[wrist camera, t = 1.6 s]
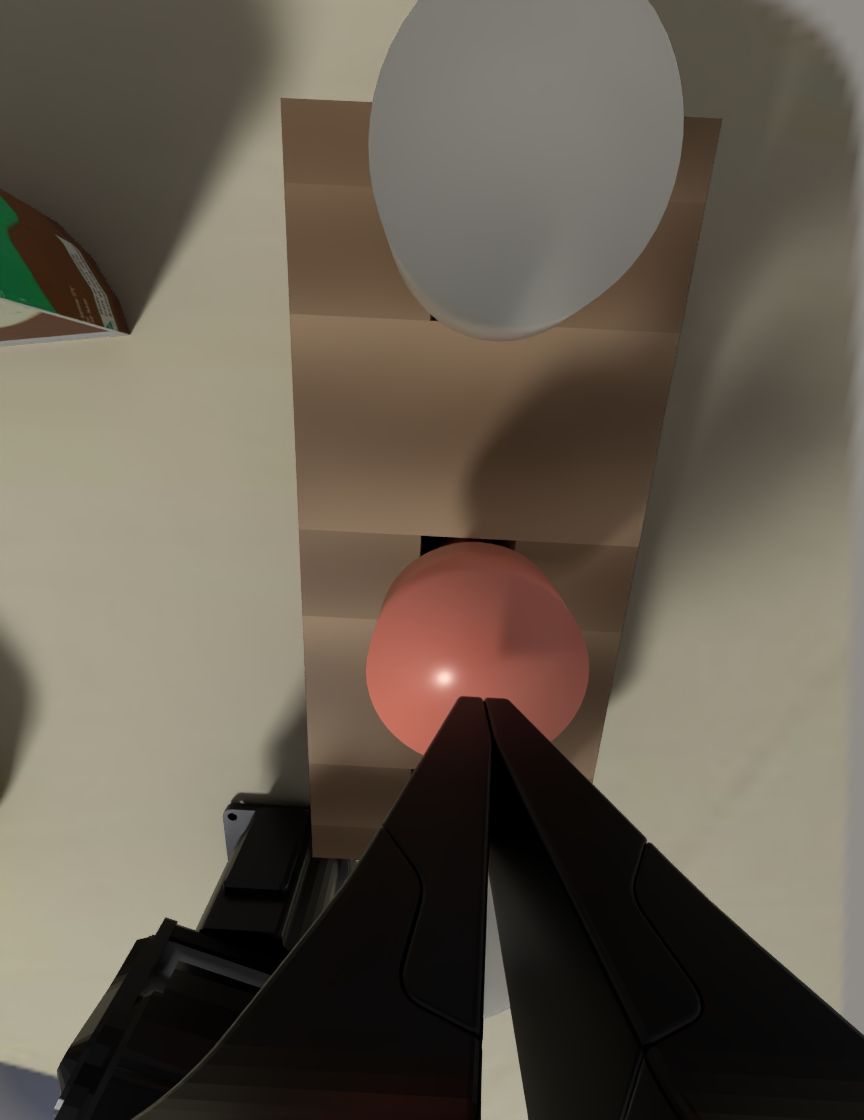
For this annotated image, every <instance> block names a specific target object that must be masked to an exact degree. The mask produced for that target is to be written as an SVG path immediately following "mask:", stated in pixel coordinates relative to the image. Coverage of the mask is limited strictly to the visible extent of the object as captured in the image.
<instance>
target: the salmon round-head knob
mask: <svg viewBox="0 0 864 1120" xmlns="http://www.w3.org/2000/svg"><path fill="white" fill-rule="evenodd" d="M588 678H589V657H588V652H587V647H586V643H585V640H584V638H583V635H582V632H581V630H580V629H579V627H578V625H577V623H576V621H575V620H574V618H573V616H572V615H571V613H570V611H569V610H568V608H567V607H566V605H565V603H564V602H563V600H562V598H561V597H560V595H559V594H558V592H557V590H556V589H555V587H554V585H553V584H552V582H551V581H550V580H549V578H548V577H547V576H546V574H545V573H544V572H543V571H542V570H541V569H540V568H539V567H538V566H537V565H536V564H535V563H533V562H532V561H531V560H529V559H528V558H527V557H525V556H523V555H521V554H519V553H518V552H516V551H514V550H511V549H508V548H506V547H503V546H499V545H495V544H491V543H483V542H482V541H481V540H480V539H477V538H458V537H447V538H446V539H444V540H443V541H442V543H441V544H440V546H439V548H437V549H435V550H432V551H430V552H428V553H426V554H424V555H422V556H421V557H419V558H417V559H416V560H415V561H413V562H412V563H411V564H409V565H408V566H407V567H406V568H405V569H404V570H403V571H402V572H401V573H400V574H399V575H398V577H397V578H396V579H395V580H394V582H393V583H392V585H391V587H390V588H389V590H388V592H387V594H386V596H385V599H384V601H383V604H382V607H381V610H380V614H379V617H378V620H377V624H376V627H375V630H374V633H373V637H372V640H371V643H370V647H369V651H368V655H367V663H366V679H367V686H368V691H369V695H370V698H371V701H372V703H373V706H374V708H375V710H376V712H377V714H378V715H379V717H380V719H381V720H382V722H383V723H384V724H385V726H386V727H387V728H388V729H389V730H390V731H391V732H392V733H393V734H394V736H395V737H396V738H398V739H399V740H400V741H401V742H403V743H404V744H405V745H406V746H408V747H410V748H411V749H413V750H414V751H416V752H418V753H420V754H422V755H424V753H425V752H426V750H427V748H428V747H429V745H430V743H431V742H432V740H433V738H434V737H435V735H436V734H437V732H438V730H439V729H440V727H441V725H442V724H443V722H444V720H445V719H446V717H447V715H448V714H449V712H450V710H451V709H452V707H453V705H454V704H455V702H456V700H457V699H458V698H459V697H460V696H471V697H481V698H482V699H483V701H484V699H485V698H488V697H490V698H506V699H508V700H509V701H511V702H512V703H513V704H514V705H515V706H516V707H517V708H518V709H519V710H520V711H521V712H522V713H523V714H524V715H525V716H526V717H527V718H528V720H529V721H530V722H531V723H532V724H533V725H534V726H535V727H536V728H537V729H538V730H539V731H540V732H541V733H542V734H543V735H544V736H545V737H546V738H547V739H548V740H549V741H550V742H551V741H552V740H554V739H555V738H556V737H557V736H558V735H559V734H560V733H561V732H562V731H563V730H564V729H565V728H566V727H567V726H568V724H569V723H570V722H571V721H572V719H573V718H574V716H575V715H576V713H577V711H578V709H579V708H580V706H581V703H582V701H583V698H584V696H585V693H586V689H587V685H588Z"/></svg>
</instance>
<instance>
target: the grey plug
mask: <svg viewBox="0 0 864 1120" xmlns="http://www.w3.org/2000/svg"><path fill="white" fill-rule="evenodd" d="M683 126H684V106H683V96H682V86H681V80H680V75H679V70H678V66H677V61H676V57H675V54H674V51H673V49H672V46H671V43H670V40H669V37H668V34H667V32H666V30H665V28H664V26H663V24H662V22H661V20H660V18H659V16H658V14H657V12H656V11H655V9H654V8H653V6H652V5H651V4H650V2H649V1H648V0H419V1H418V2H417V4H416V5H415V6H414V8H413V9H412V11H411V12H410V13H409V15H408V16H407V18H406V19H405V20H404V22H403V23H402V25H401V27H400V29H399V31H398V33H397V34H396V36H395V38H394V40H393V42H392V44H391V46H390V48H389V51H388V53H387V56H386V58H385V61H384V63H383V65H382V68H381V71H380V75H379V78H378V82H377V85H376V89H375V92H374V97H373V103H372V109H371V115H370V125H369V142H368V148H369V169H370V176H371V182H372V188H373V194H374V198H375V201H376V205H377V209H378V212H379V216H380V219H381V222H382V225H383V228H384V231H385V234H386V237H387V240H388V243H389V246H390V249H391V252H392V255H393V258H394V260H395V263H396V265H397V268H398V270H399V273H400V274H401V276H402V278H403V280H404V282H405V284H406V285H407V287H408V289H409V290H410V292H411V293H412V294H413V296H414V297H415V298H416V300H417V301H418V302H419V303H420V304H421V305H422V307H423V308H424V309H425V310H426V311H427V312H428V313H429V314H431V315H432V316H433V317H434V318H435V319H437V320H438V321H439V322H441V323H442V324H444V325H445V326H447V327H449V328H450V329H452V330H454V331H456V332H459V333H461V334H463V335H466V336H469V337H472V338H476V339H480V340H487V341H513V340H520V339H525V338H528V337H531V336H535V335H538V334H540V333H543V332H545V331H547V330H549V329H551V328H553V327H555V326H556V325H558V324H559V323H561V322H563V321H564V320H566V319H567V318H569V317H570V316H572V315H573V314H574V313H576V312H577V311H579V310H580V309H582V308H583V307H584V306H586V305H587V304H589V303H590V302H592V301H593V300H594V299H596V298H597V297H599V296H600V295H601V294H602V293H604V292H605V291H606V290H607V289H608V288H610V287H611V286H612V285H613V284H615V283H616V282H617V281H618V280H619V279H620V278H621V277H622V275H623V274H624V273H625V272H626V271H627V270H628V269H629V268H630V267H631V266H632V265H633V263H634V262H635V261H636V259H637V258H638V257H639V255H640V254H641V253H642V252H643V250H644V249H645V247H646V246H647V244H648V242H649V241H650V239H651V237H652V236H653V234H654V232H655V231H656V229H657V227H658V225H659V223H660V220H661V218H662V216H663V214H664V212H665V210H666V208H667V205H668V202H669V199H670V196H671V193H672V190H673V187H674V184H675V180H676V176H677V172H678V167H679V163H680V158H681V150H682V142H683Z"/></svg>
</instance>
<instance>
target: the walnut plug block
mask: <svg viewBox="0 0 864 1120" xmlns="http://www.w3.org/2000/svg"><path fill="white" fill-rule="evenodd" d="M372 103H373V102H354V101H333V100H312V99H290V98H281V117H282V141H283V165H284V189H285V212H286V236H287V260H288V283H289V307H290V331H291V354H292V378H293V402H294V425H295V449H296V473H297V496H298V520H299V544H300V568H301V591H302V615H303V639H304V662H305V686H306V710H307V733H308V757H309V781H310V804H311V828H312V852H313V857H320V858H337V859H355V860H359V859H360V858H361V856H362V855H363V853H364V852H365V850H366V849H367V847H368V845H369V844H370V842H371V840H372V839H373V837H374V835H375V834H376V832H377V830H378V829H379V828H381V825H382V823H383V821H384V819H385V818H386V816H387V814H388V813H389V811H390V809H391V808H392V806H393V804H394V803H395V801H396V800H397V798H398V796H399V795H400V793H401V791H402V790H403V788H404V786H405V785H406V783H407V781H408V780H409V778H410V776H411V775H412V773H413V771H414V770H415V768H416V767H417V765H418V763H419V762H420V760H421V758H422V757H423V755H422V754H420V753H418V752H416V751H414V750H413V749H411V748H410V747H408V746H406V745H405V744H404V743H403V742H401V741H400V740H399V739H398V738H396V737H395V736H394V734H393V733H392V732H391V731H390V730H389V729H388V728H387V727H386V726H385V724H384V723H383V722H382V720H381V719H380V717H379V715H378V714H377V712H376V710H375V708H374V706H373V703H372V701H371V698H370V695H369V691H368V686H367V679H366V663H367V655H368V651H369V647H370V643H371V640H372V637H373V633H374V630H375V627H376V624H377V620H378V617H379V614H380V610H381V607H382V604H383V601H384V599H385V596H386V594H387V592H388V590H389V588H390V587H391V585H392V583H393V582H394V580H395V579H396V578H397V577H398V575H399V574H400V573H401V572H402V571H403V570H404V569H405V568H406V567H407V566H408V565H409V564H411V563H412V562H413V561H415V560H416V559H417V558H419V557H421V556H422V555H424V554H425V537H426V536H439V537H458V538H477V539H491V544H495V545H499V546H503V547H506V548H508V549H511V550H514V551H516V552H518V553H519V554H521V555H523V556H525V557H527V558H528V559H529V560H531V561H532V562H533V563H535V564H536V565H537V566H538V567H539V568H540V569H541V570H542V571H543V572H544V573H545V574H546V576H547V577H548V578H549V580H550V581H551V582H552V584H553V585H554V587H555V589H556V590H557V592H558V594H559V595H560V597H561V598H562V600H563V602H564V603H565V605H566V607H567V608H568V610H569V611H570V613H571V615H572V616H573V618H574V620H575V621H576V623H577V625H578V627H579V629H580V630H581V632H582V635H583V638H584V640H585V643H586V647H587V652H588V657H589V678H588V685H587V689H586V693H585V696H584V698H583V701H582V703H581V706H580V708H579V709H578V711H577V713H576V715H575V716H574V718H573V719H572V721H571V722H570V723H569V724H568V726H567V727H566V728H565V729H564V730H563V731H562V732H561V733H560V734H559V735H558V736H557V737H556V738H555V739H554V740H552V741H551V743H552V744H553V745H554V746H555V747H556V748H557V749H558V750H559V751H560V752H561V753H562V754H563V755H564V756H565V757H566V758H567V759H568V760H569V761H570V762H571V763H572V764H573V765H574V766H575V767H576V768H577V769H578V770H579V771H580V772H581V773H582V774H583V775H584V776H585V777H586V778H587V779H588V780H589V781H590V782H591V783H593V778H594V773H595V768H596V763H597V758H598V753H599V747H600V742H601V737H602V732H603V727H604V722H605V717H606V712H607V706H608V701H609V696H610V691H611V686H612V681H613V676H614V671H615V665H616V660H617V655H618V650H619V645H620V640H621V635H622V630H623V624H624V619H625V614H626V609H627V604H628V599H629V594H630V589H631V583H632V578H633V573H634V568H635V563H636V558H637V553H638V548H639V542H640V537H641V532H642V527H643V522H644V517H645V512H646V507H647V501H648V496H649V491H650V486H651V481H652V476H653V471H654V466H655V460H656V455H657V450H658V445H659V440H660V435H661V430H662V425H663V419H664V414H665V409H666V404H667V399H668V394H669V389H670V384H671V378H672V373H673V368H674V363H675V358H676V353H677V348H678V343H679V337H680V332H681V327H682V322H683V317H684V312H685V307H686V302H687V296H688V291H689V286H690V281H691V276H692V271H693V266H694V261H695V255H696V250H697V245H698V240H699V235H700V230H701V225H702V220H703V214H704V209H705V204H706V199H707V194H708V189H709V184H710V179H711V174H712V168H713V163H714V158H715V153H716V148H717V143H718V138H719V133H720V127H721V122H722V119H715V118H693V117H684V126H683V142H682V150H681V158H680V163H679V167H678V172H677V176H676V180H675V184H674V187H673V190H672V193H671V196H670V199H669V202H668V205H667V208H666V210H665V212H664V214H663V216H662V218H661V220H660V223H659V225H658V227H657V229H656V231H655V232H654V234H653V236H652V237H651V239H650V241H649V242H648V244H647V246H646V247H645V249H644V250H643V252H642V253H641V254H640V255H639V257H638V258H637V259H636V261H635V262H634V263H633V265H632V266H631V267H630V268H629V269H628V270H627V271H626V272H625V273H624V274H623V275H622V277H621V278H620V279H619V280H618V281H617V282H616V283H615V284H613V285H612V286H611V287H610V288H608V289H607V290H606V291H605V292H604V293H602V294H601V295H600V296H599V297H597V298H596V299H594V300H593V301H592V302H590V303H589V304H587V305H586V306H584V307H583V308H582V309H580V310H579V311H577V312H576V313H574V314H573V315H572V316H570V317H569V318H567V319H566V320H564V321H563V322H561V323H559V324H558V325H556V326H555V327H553V328H551V329H549V330H547V331H545V332H543V333H540V334H538V335H535V336H531V337H528V338H525V339H520V340H513V341H487V340H480V339H476V338H472V337H469V336H466V335H463V334H461V333H459V332H456V331H454V330H452V329H450V328H449V327H447V326H445V325H444V324H442V323H441V322H439V321H435V318H434V317H433V316H432V315H431V314H429V313H428V312H427V311H426V310H425V309H424V308H423V307H422V305H421V304H420V303H419V302H418V301H417V300H416V298H415V297H414V296H413V294H412V293H411V292H410V290H409V289H408V287H407V285H406V284H405V282H404V280H403V278H402V276H401V274H400V273H399V270H398V268H397V265H396V263H395V260H394V258H393V255H392V252H391V249H390V246H389V243H388V240H387V237H386V234H385V231H384V228H383V225H382V222H381V219H380V216H379V212H378V209H377V205H376V201H375V198H374V194H373V188H372V182H371V176H370V169H369V148H368V142H369V125H370V115H371V109H372Z"/></svg>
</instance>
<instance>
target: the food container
mask: <svg viewBox="0 0 864 1120" xmlns="http://www.w3.org/2000/svg"><path fill="white" fill-rule="evenodd" d="M122 335H130V333H129V330H128V327H127V324H126V321H125V318H124V315H123V312H122V309H121V306H120V303H119V301H118V299H117V297H116V296H115V294H114V292H113V291H112V289H111V287H110V286H109V284H108V282H107V281H106V279H105V277H104V276H103V274H102V272H101V271H100V269H99V267H98V266H97V264H96V263H95V261H94V259H93V258H92V257H91V256H90V255H89V254H88V253H87V252H86V251H85V250H84V249H83V248H82V247H81V246H80V245H79V244H78V243H77V242H76V241H75V240H74V239H73V238H72V237H71V236H70V235H69V234H68V233H67V232H66V231H65V230H64V229H63V228H62V227H61V226H60V225H59V224H58V223H57V222H55V221H53V220H52V219H50V218H48V217H47V216H45V215H43V214H42V213H40V212H38V211H37V210H35V209H33V208H32V207H30V206H28V205H27V204H25V203H23V202H22V201H20V200H18V199H17V198H15V197H13V196H12V195H10V194H8V193H7V192H5V191H3V190H2V189H0V347H1V346H12V345H23V344H34V343H45V342H56V341H67V340H78V339H89V338H100V337H111V336H122Z"/></svg>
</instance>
